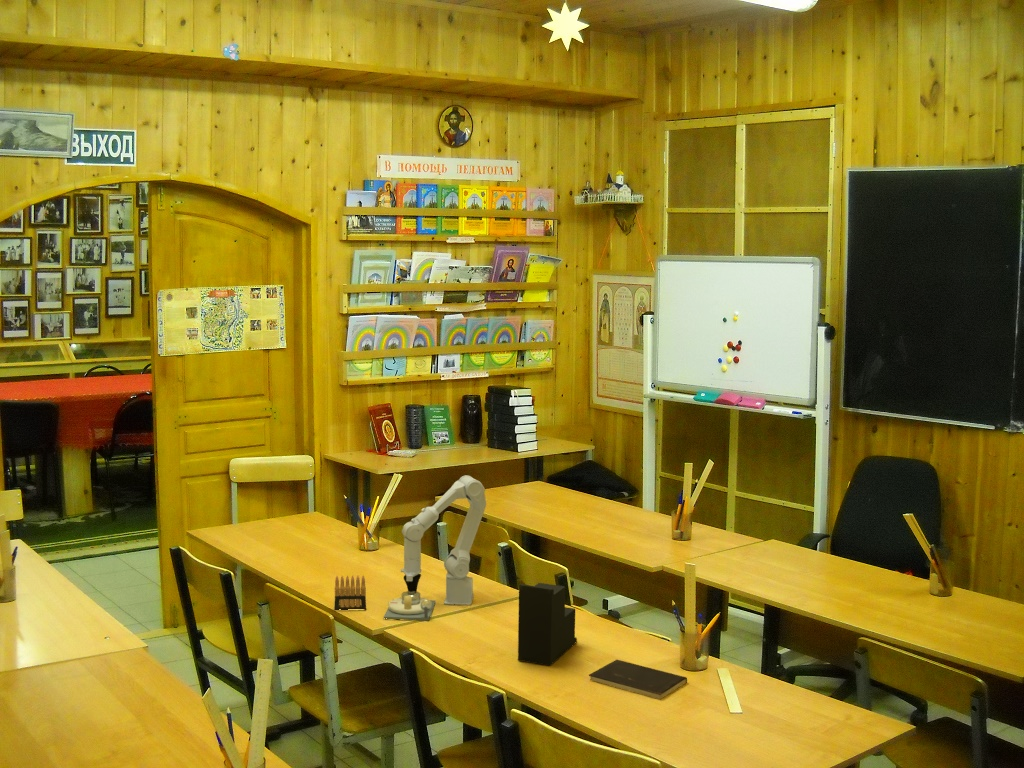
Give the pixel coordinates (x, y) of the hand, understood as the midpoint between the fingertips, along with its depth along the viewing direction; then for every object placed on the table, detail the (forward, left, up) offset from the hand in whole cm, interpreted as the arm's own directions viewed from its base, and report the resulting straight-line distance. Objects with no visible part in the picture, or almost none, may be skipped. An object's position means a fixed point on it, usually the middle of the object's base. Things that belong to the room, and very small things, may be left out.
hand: (412, 595), depth 383 cm
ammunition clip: (+20, +5, -4) cm, 22 cm away
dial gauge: (-7, +14, -4) cm, 16 cm away
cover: (0, +4, -1) cm, 4 cm away
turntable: (0, +5, -2) cm, 6 cm away
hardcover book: (-74, +63, -4) cm, 97 cm away
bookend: (-48, +40, -4) cm, 62 cm away
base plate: (0, +5, -4) cm, 7 cm away
